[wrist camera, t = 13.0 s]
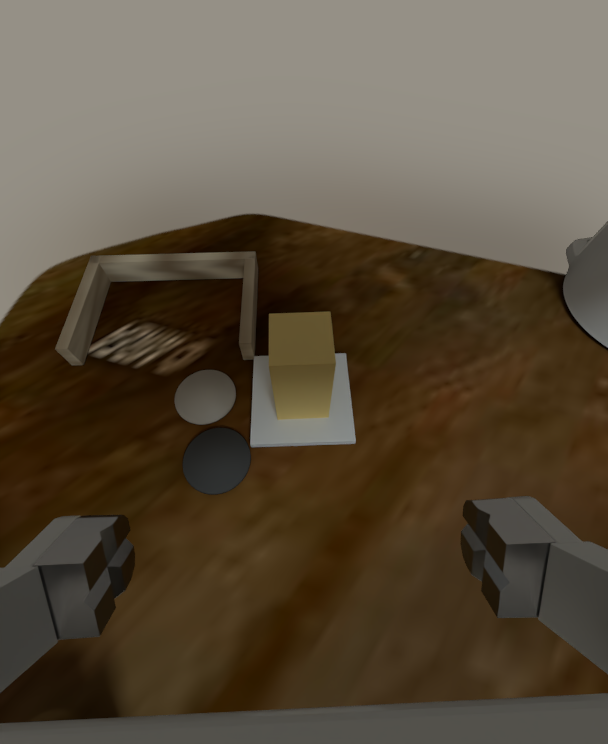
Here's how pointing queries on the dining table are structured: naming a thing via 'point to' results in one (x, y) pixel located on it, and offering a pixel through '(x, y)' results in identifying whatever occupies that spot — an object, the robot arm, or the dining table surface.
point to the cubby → (152, 269)
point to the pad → (300, 430)
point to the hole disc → (216, 461)
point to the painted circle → (205, 397)
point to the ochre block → (301, 364)
